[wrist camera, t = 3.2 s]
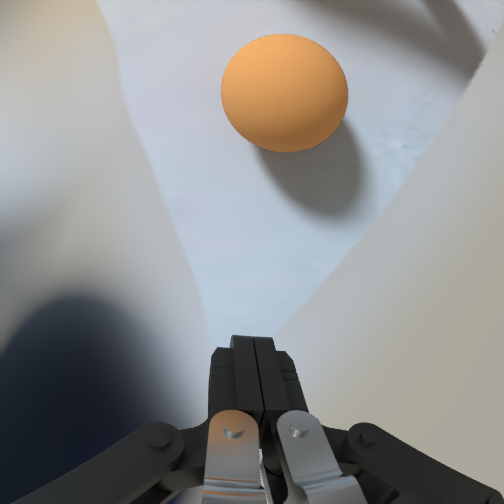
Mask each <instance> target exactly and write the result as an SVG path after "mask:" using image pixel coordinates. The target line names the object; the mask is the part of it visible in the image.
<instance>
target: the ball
mask: <svg viewBox="0 0 504 504" xmlns="http://www.w3.org/2000/svg"><path fill="white" fill-rule="evenodd" d="M221 98H222V104H223V108H224V111H225V113H226V116H227V118H228V119H229V121H230V123H231V124H232V126H233V127H234V128H235V129H236V131H237V132H238V133H239V134H240V135H242V136H243V137H244V138H245V139H247V140H248V141H249V142H251V143H253V144H255V145H256V146H259V147H261V148H263V149H267V150H270V151H275V152H298V151H303V150H306V149H309V148H312V147H314V146H316V145H318V144H320V143H321V142H323V141H324V140H326V139H327V138H328V137H329V136H330V135H332V134H333V133H334V131H335V130H336V129H337V128H338V126H339V125H340V123H341V121H342V119H343V117H344V115H345V112H346V108H347V104H348V86H347V82H346V78H345V75H344V73H343V70H342V69H341V67H340V65H339V63H338V62H337V61H336V59H335V58H334V57H333V56H332V55H331V54H330V53H329V52H328V51H327V50H326V49H325V48H323V47H322V46H321V45H319V44H317V43H316V42H314V41H312V40H310V39H307V38H304V37H301V36H297V35H291V34H275V35H269V36H265V37H261V38H258V39H256V40H254V41H252V42H250V43H249V44H247V45H245V46H244V47H243V48H242V49H241V50H239V51H238V52H237V53H236V54H235V55H234V57H233V58H232V59H231V61H230V62H229V64H228V66H227V68H226V70H225V73H224V76H223V79H222V85H221Z"/></svg>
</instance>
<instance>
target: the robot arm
mask: <svg viewBox="0 0 504 504" xmlns="http://www.w3.org/2000/svg"><path fill="white" fill-rule="evenodd" d="M298 379H299V378H298V375H297V373H296V369H295V365H294V362H293V360H292V359H291V358H290V356H289V355H288V354H287V353H286V352H285V351H276V349H275V345H274V341H273V338H271V337H255V336H253V337H252V336H240V335H232V337H231V342H230V348H222V347H217V349H216V350H215V352H214V353H213V355H212V356H211V365H210V375H209V389H208V390H209V391H208V418H207V420H206V421H205V422H204V423H202V424H201V425H199V426H197V427H194V428H189V429H183V430H178V429H176V428H175V427H174V426H172V425H170V424H167V423H163V422H150V423H147V424H144V425H142V426H141V427H139V428H138V429H136V430H135V431H133V432H132V433H130V434H129V435H127V436H126V437H124V438H123V439H121V440H120V441H118V442H117V443H115V444H114V445H112V446H111V447H109V448H107V449H106V450H104V451H103V452H101V453H100V454H98V455H96V456H95V457H93V458H92V459H90V460H88V461H87V462H85V463H83V464H82V465H80V466H78V467H77V468H75V469H73V470H72V471H70V472H68V473H66V474H65V475H63V476H61V477H59V478H58V479H56V480H54V481H52V482H51V483H49V484H47V485H45V486H43V487H41V488H39V489H38V490H36V491H34V492H32V493H30V494H28V495H26V496H24V497H22V498H20V499H18V500H16V501H14V502H12V503H10V504H166V503H167V502H169V501H170V500H171V499H172V498H173V497H174V496H176V495H177V494H178V493H179V492H180V491H181V490H182V489H186V488H191V487H196V486H200V485H203V494H202V504H267V500H266V494H267V498H268V502H269V504H504V499H503V497H502V495H501V494H500V492H499V491H497V490H495V489H493V488H491V487H489V486H486V485H484V484H482V483H480V482H478V481H476V480H473V479H472V478H470V477H467V476H466V475H464V474H461V473H460V472H458V471H456V470H454V469H451V468H450V467H448V466H446V465H444V464H442V463H440V462H438V461H437V460H435V459H433V458H431V457H429V456H427V455H426V454H424V453H422V452H420V451H418V450H417V449H415V448H413V447H411V446H410V445H408V444H406V443H404V442H403V441H401V440H399V439H398V438H396V437H394V436H393V435H391V434H389V433H387V432H386V431H384V430H383V429H381V428H379V427H378V426H376V425H374V424H371V423H365V422H364V423H358V424H355V425H354V426H352V427H351V428H350V429H349V431H346V430H340V429H334V428H329V427H326V426H323V425H321V424H320V422H319V420H318V419H317V418H316V417H314V416H313V415H312V414H310V413H309V411H308V408H307V405H306V402H305V399H304V395H303V392H302V388H301V385H300V382H299V381H298ZM259 449H262V456H263V458H262V461H261V463H260V456H259ZM260 469H261V473H262V477H263V482H264V486H265V489H264V488H263V487H262V486H261V480H260ZM265 490H266V492H265Z"/></svg>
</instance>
